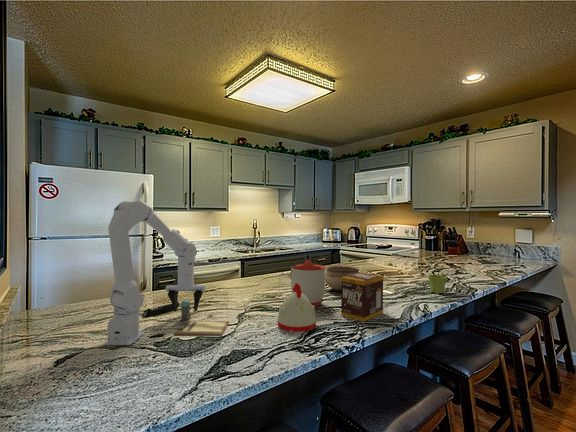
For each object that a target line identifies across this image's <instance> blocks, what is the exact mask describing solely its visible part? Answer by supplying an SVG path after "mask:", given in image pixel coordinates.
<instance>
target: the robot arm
mask: <svg viewBox="0 0 576 432" xmlns="http://www.w3.org/2000/svg"><path fill="white" fill-rule="evenodd" d="M139 223H146V224H147V225H149V227H151V228H152V229H154V230H155V231H156V232H157V233H159V234H160V235H161V236H162V240H163V242H164V243H165V244H166V245H167V246H168V247H169V248H170V249H172V251H174V252H173V253H174V255H175V257H177V284H174V285H173V284H172V285H171V284H170V285H168V284H167V285H166V286H165V292H168V293H167V297H168V298H169V300H170V302H171V304H172V305H173V312H176V311H178V308H179V307H178V302H179V301H178V299H179V298H178V297H179V292H193V293H192V294H193V303H194V304H193V311H194V312H197V311H198V308H199V304H200V300H201V298H202V295H203V293H205V292H206V291H207V290H206V285H200V284H195V282H194V281H195V272H194V271H195V268H194V267H195V259H196V256H197V254H198V249H197V247H196V245H195V244H194V243H190V242H189V240H188V238H185V237H184V236H183V235H181V231H180V230H179V229H173V228H172V229H171V228H170V227H169V226H168V225H167V224H166V223H165V222H164V221H163V220H162V219H161V218H160V217H159V216H158V215H157V214H156V213H155V211H154V210H153V208H152V207H151V206H149V205H148V204H147V203H146V202H145V201H142V200H136V201H127V200H125V201H121V202H120V203H119V204H117V205H116V206H115V207H114V208H113V215H112V216H111V220H110V222H109V224H108V229H107V230H108V236H109V244H110V252H111V259H112V268H113V276H114V283H113V285H112V286H111V294H110V298H109V302H110V304H111V305H112V306H113V316H112V318H111V319H109V320H108V323H107V340H106V342H104V346H130V345H133V344H134V343H135V342H136V341H137V340H138V339H140V338H141V337H142V336H143V335H144V334H145V332H144V331H140V310H141V309H140V308H141V307H142V306H143V305H144V296H143V294H142V292H141V291H140V286H139V285H138V283H137V282H136V280H135V275H134V267H133V259H132V258H133V256H132V250H131V242H130V235H129V232H130V231H131V230H132V228H134V227H135V226H136V225H137V224H139Z"/></svg>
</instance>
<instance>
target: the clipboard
mask: <svg viewBox="0 0 576 432" xmlns="http://www.w3.org/2000/svg"><path fill="white" fill-rule="evenodd" d="M229 324H230V321H229V320H227V321H226V320H224V321H223V320H221V321H220V320H218V321H217V320H213V321H212V320H189V321H182V323H180V324H179V326H177V330H175V332H174V333H173V336H218V337H219V336H220V337H221V336H223V335H224V333H225V332H226V329H227V328H228V326H229Z"/></svg>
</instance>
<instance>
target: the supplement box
mask: <svg viewBox="0 0 576 432" xmlns="http://www.w3.org/2000/svg"><path fill="white" fill-rule="evenodd" d="M340 307H341V311H340V312H341V315H340V316H341V317H342V316H343V317H346V318H350V319H352V320H356V321H359V320H360V322H366V321H368V319H369V320H371V319H373V318H375V317H377V315H378V316H380V315H382V314H384V276H383V275H380V274H376V273H375V274H373V273H368V272H367V273H366V272H359V273H357V274H353V275H349V276H344V277H342V292H341V306H340ZM381 313H382V314H381ZM379 314H380V315H379ZM374 316H375V317H374ZM370 318H371V319H370Z"/></svg>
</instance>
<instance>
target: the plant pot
mask: <svg viewBox="0 0 576 432" xmlns="http://www.w3.org/2000/svg"><path fill="white" fill-rule="evenodd" d="M427 277H428V281H429V287H430V292H431V291H432V292H435V293H444V294H445V288H446V282H447V279H448V276H446V275H441V274H429V275H427ZM435 293H434V294H435Z"/></svg>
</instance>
